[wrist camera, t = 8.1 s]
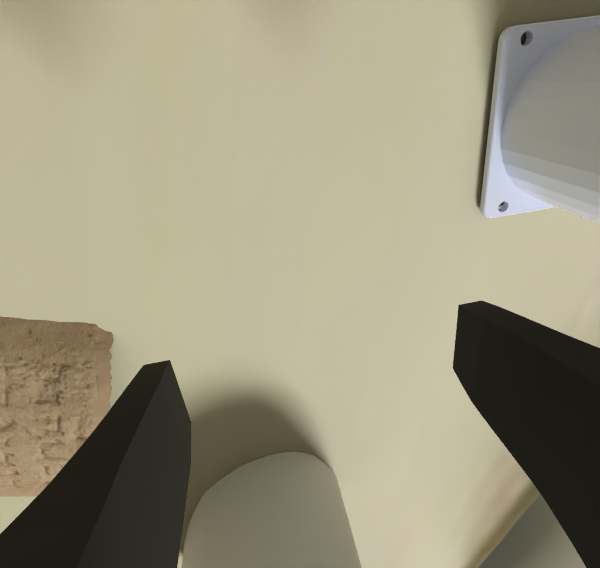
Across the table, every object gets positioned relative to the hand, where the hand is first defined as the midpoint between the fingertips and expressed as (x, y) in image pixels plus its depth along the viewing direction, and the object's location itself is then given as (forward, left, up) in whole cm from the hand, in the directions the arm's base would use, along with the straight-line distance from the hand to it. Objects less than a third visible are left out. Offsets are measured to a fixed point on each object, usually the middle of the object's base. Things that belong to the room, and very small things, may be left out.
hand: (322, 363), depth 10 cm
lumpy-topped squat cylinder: (+4, +21, -10) cm, 24 cm away
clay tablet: (+15, +8, -11) cm, 20 cm away
